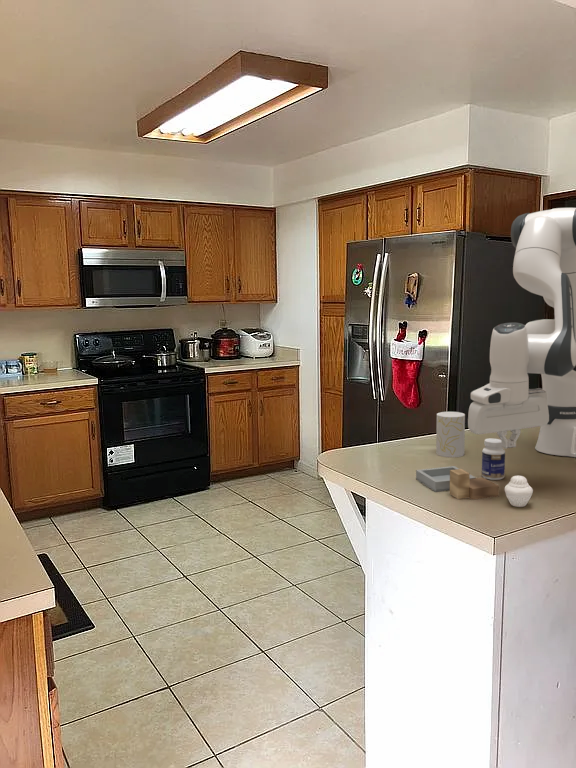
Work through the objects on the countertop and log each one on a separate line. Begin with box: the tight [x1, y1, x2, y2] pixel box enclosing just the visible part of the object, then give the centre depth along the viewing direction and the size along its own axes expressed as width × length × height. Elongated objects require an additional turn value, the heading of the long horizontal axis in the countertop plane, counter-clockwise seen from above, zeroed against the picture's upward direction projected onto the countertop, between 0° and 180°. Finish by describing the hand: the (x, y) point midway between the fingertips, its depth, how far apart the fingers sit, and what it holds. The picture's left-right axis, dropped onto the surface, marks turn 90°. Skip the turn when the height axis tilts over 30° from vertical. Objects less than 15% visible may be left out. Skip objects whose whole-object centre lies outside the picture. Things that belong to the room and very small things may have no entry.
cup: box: [435, 411, 466, 458], centre depth 192 cm, size 8×8×12 cm
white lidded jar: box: [504, 474, 534, 508], centre depth 148 cm, size 6×6×7 cm
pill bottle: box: [481, 437, 506, 481], centre depth 168 cm, size 6×6×10 cm
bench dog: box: [449, 468, 471, 500], centre depth 155 cm, size 3×4×6 cm
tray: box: [415, 465, 477, 493], centre depth 165 cm, size 11×11×2 cm
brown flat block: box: [468, 477, 500, 501], centre depth 156 cm, size 7×7×3 cm
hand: (508, 447), depth 157 cm, fingers closed
